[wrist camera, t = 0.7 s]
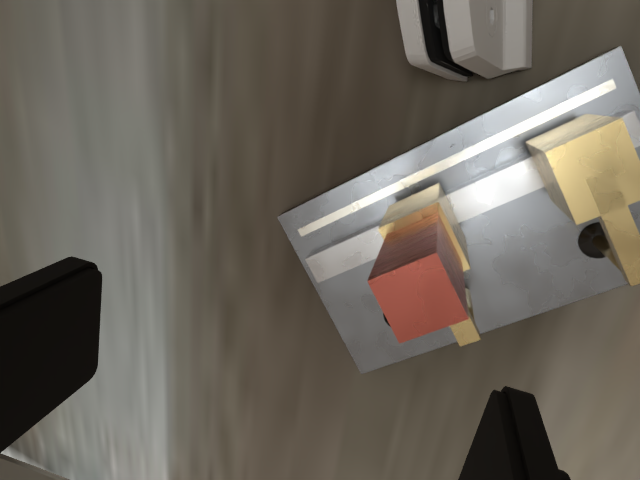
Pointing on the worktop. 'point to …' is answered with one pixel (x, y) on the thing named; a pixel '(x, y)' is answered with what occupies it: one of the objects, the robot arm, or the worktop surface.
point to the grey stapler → (467, 36)
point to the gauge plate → (495, 209)
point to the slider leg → (423, 269)
